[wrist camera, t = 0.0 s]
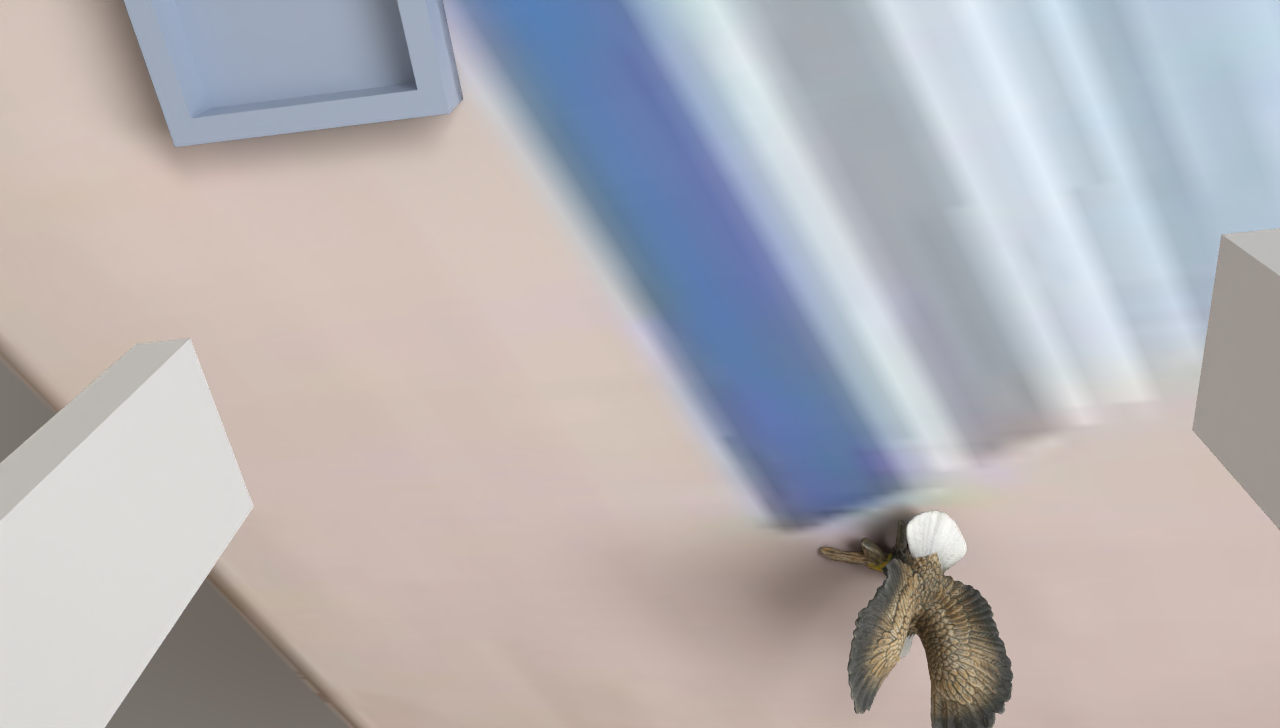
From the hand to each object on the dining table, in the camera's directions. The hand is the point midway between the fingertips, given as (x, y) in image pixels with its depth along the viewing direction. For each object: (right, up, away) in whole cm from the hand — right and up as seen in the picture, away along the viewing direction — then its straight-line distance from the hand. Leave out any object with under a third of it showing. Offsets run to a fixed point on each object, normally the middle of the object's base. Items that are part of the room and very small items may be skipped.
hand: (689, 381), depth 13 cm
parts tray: (-14, +15, +24) cm, 32 cm away
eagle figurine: (+12, -9, +36) cm, 39 cm away
